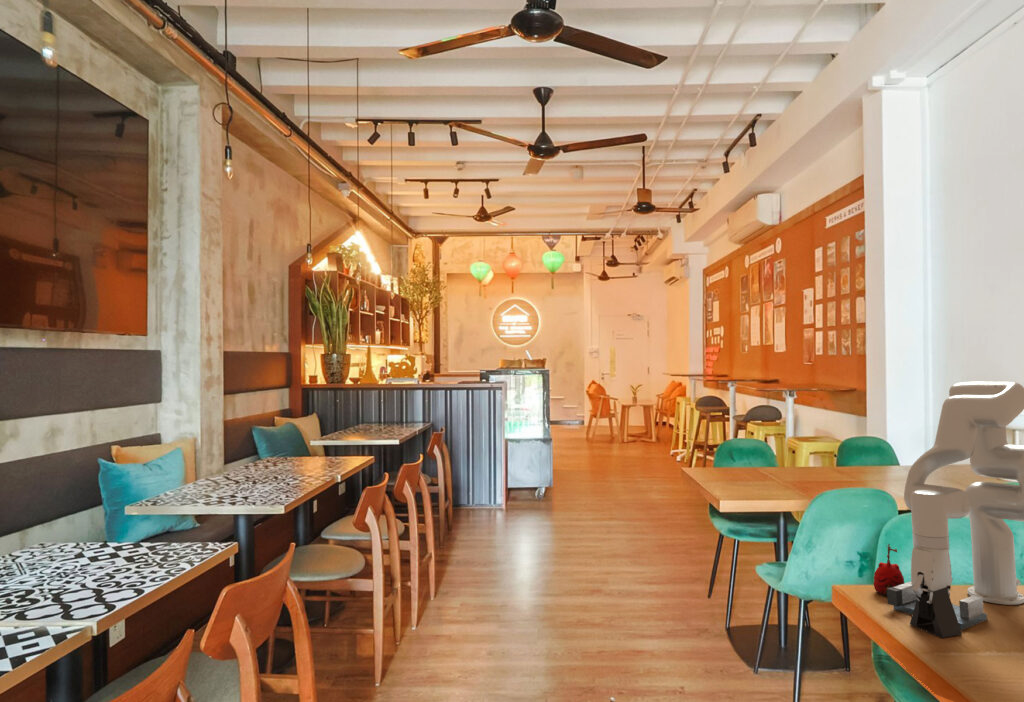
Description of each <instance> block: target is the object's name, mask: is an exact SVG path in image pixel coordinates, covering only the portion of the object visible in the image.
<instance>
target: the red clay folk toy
mask: <svg viewBox="0 0 1024 702" xmlns="http://www.w3.org/2000/svg"><path fill="white" fill-rule="evenodd" d="M885 546H886V547H887V555H886V558H887V561H886V562H882V561H880V562H879V563H878V567H877V568H876V570H875V571H874V574H873V587H874V588H873V589H874V590H875V591H876V593H878V594H879V595H881V596H884V597H887V588H890V587H895V586H898V585H901V584H905V579H904V576H903V573H902V571H901V570H900V565H899V564H897V563H891V560H890V558H891V557H890V552H891V551H892V552H895V553H898V549H897V548H895V549H893V548H891V546H890V543H888V544H886V545H885Z"/></svg>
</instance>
